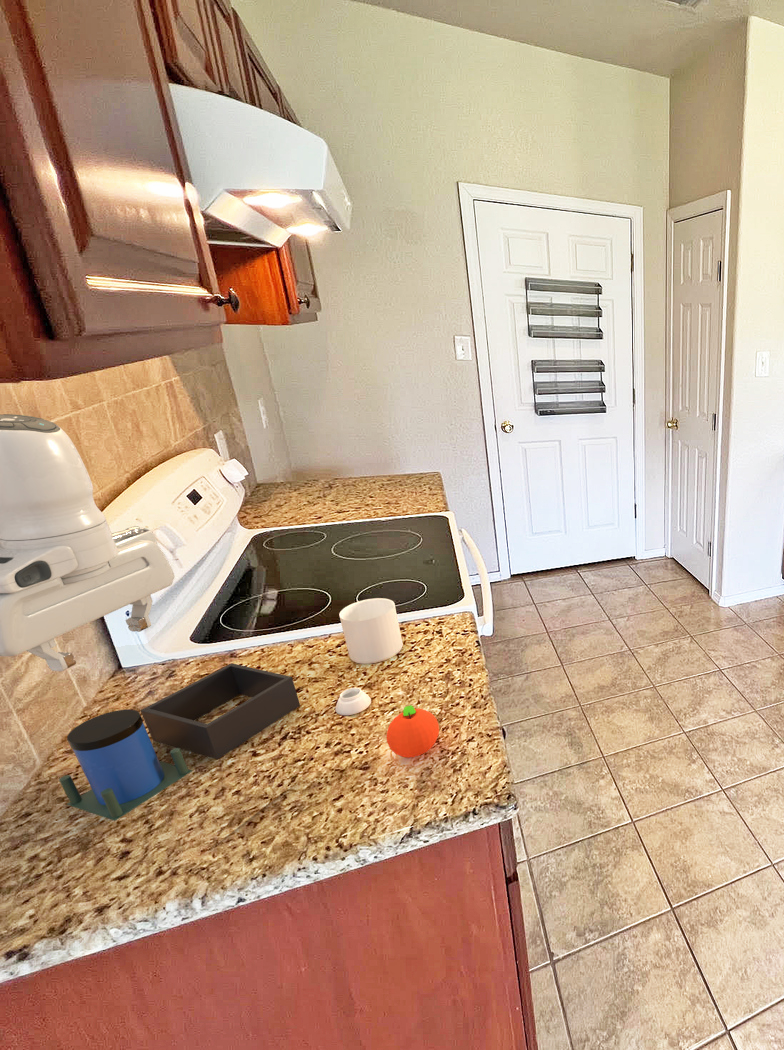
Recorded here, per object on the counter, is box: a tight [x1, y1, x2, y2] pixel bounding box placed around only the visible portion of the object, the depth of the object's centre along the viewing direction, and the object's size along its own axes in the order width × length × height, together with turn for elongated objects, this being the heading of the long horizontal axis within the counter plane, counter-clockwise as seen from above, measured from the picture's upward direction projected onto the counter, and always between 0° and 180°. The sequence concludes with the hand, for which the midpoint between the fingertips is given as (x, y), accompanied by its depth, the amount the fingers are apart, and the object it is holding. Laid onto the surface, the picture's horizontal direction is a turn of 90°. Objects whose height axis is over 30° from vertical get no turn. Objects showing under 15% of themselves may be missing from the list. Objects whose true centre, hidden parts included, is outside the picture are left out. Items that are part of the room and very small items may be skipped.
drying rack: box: [58, 747, 194, 822], centre depth 77 cm, size 9×9×5 cm
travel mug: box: [66, 708, 164, 805], centre depth 75 cm, size 7×7×10 cm
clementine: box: [386, 704, 440, 758], centre depth 85 cm, size 8×7×7 cm
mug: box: [338, 597, 404, 665], centre depth 110 cm, size 12×9×9 cm
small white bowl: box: [334, 687, 372, 716], centre depth 95 cm, size 5×3×5 cm
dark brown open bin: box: [139, 662, 301, 760], centre depth 89 cm, size 13×13×7 cm
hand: (104, 647), depth 74 cm, fingers open, 8 cm apart
